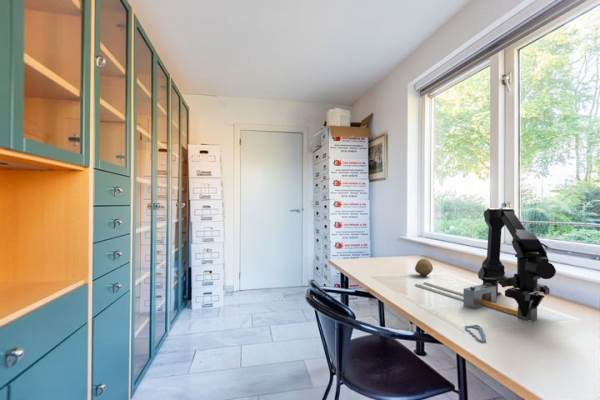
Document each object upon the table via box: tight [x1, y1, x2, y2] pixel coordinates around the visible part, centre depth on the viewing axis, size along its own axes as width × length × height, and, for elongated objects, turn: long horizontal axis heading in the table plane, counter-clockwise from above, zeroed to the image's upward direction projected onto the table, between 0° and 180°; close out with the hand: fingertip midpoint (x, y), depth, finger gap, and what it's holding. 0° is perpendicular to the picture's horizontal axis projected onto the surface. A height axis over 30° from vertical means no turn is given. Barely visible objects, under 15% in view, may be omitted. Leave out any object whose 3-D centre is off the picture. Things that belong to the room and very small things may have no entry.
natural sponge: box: [414, 258, 434, 277], centre depth 157 cm, size 9×9×10 cm
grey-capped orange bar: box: [482, 300, 538, 322], centre depth 109 cm, size 24×4×4 cm, turn 27°
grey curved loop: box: [464, 324, 487, 344], centre depth 88 cm, size 12×1×5 cm
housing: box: [414, 281, 497, 310], centre depth 126 cm, size 16×32×8 cm, turn 28°
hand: (527, 315), depth 100 cm, fingers closed on grey-capped orange bar, 4 cm apart
